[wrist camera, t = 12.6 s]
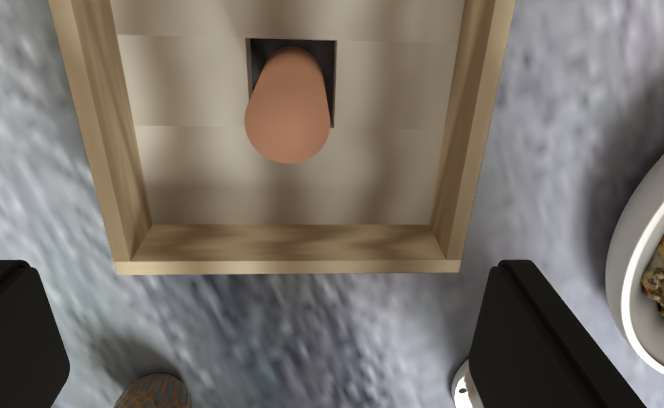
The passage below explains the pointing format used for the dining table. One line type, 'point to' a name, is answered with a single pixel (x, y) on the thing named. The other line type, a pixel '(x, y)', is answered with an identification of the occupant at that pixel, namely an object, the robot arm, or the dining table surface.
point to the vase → (155, 393)
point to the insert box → (273, 177)
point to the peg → (288, 107)
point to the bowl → (640, 269)
